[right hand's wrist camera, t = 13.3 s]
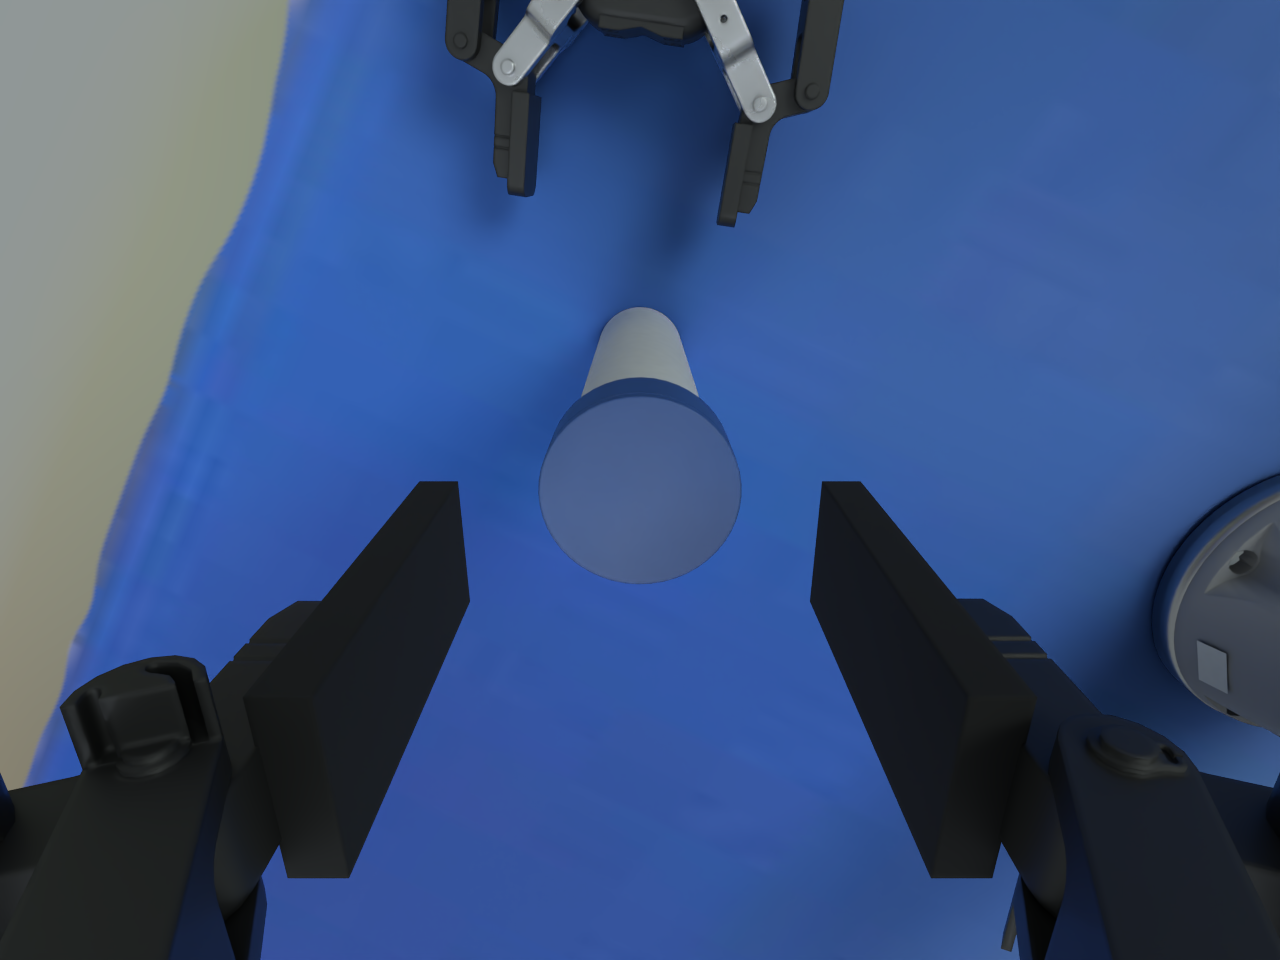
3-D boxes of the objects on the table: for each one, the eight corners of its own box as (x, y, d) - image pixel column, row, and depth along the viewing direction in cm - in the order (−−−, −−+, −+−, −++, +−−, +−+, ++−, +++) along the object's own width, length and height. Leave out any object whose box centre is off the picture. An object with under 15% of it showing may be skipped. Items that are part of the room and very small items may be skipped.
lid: (624, 337, 17) (622, 352, 15) (769, 452, 18) (784, 480, 16) (512, 480, 18) (498, 510, 17) (653, 580, 20) (655, 618, 18)
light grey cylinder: (633, 289, 33) (625, 372, 16) (698, 342, 34) (757, 475, 17) (581, 355, 34) (523, 500, 17) (646, 405, 35) (652, 591, 18)
